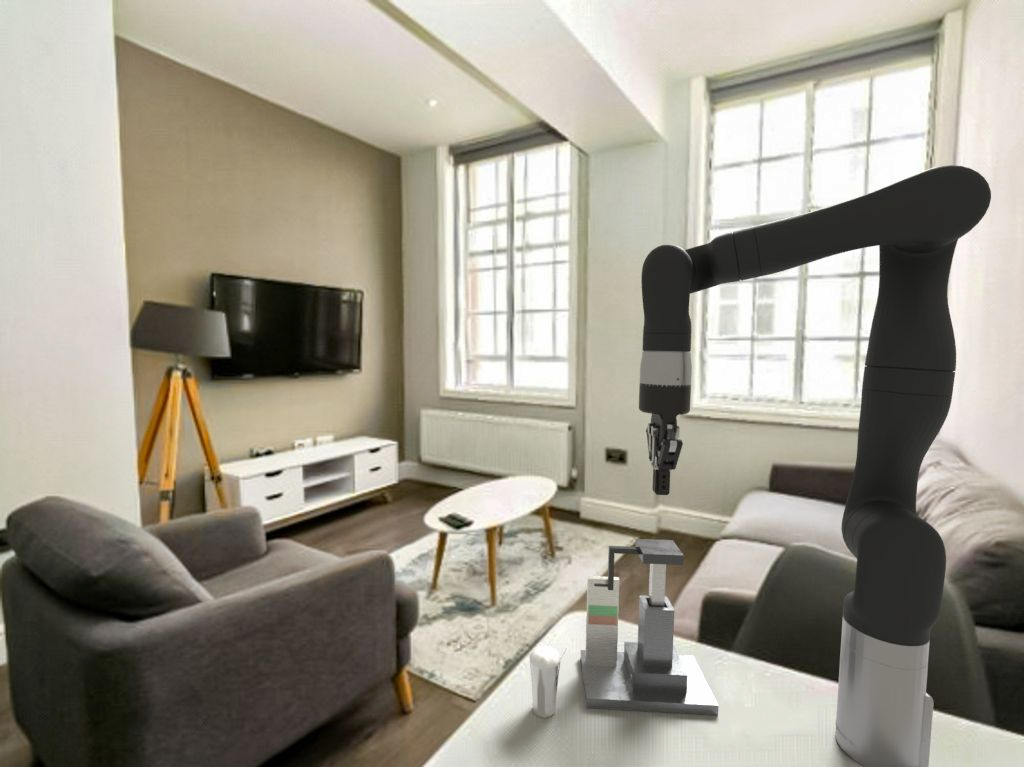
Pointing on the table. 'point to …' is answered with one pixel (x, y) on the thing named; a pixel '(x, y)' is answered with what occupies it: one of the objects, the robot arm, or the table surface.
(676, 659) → the gauge stand
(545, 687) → the milkshake
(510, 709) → the table surface
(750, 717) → the table surface
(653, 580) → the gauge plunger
